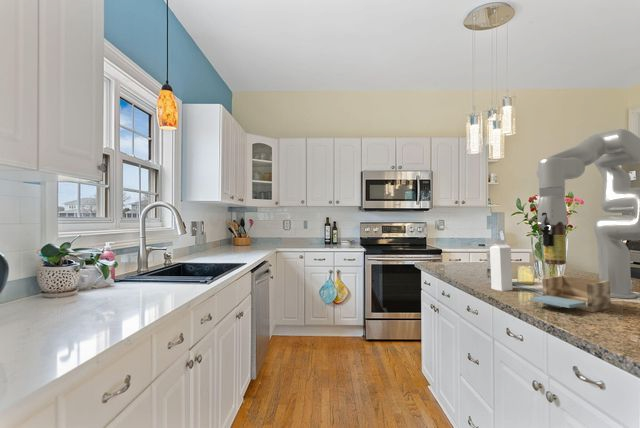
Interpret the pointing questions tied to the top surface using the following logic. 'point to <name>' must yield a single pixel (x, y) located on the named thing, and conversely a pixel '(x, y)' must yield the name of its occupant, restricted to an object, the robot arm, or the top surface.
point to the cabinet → (579, 291)
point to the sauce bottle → (556, 246)
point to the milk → (501, 266)
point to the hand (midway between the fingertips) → (554, 244)
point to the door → (558, 301)
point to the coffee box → (488, 267)
